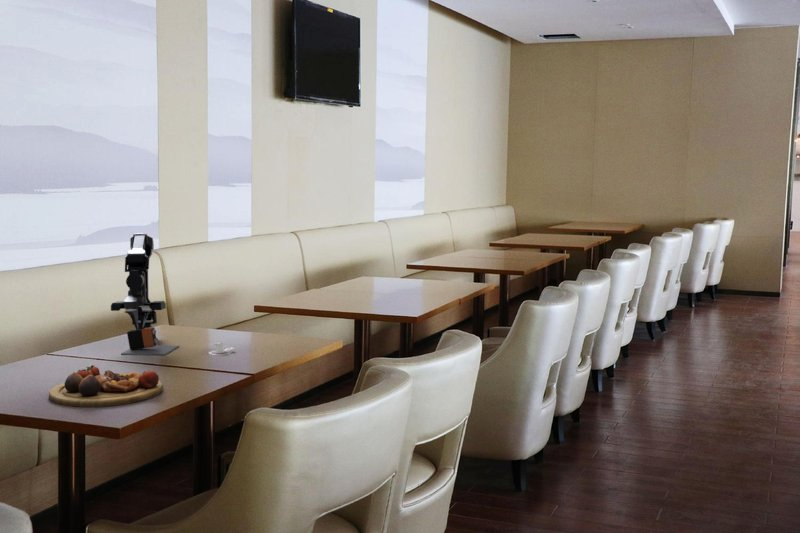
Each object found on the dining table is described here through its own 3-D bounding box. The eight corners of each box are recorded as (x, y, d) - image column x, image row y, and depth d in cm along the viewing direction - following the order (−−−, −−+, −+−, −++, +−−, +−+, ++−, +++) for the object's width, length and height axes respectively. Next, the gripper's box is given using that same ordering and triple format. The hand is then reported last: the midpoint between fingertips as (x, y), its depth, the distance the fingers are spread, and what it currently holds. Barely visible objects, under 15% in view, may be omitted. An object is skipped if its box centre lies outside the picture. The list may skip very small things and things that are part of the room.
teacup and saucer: (235, 352, 328) (235, 341, 327) (229, 356, 320) (229, 345, 319) (212, 351, 329) (212, 340, 328) (205, 356, 321) (205, 344, 320)
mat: (137, 346, 336) (137, 344, 336) (179, 346, 335) (179, 345, 335) (121, 354, 320) (121, 353, 320) (164, 355, 319) (164, 354, 319)
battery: (129, 350, 326) (155, 346, 325) (126, 332, 325) (152, 328, 324) (134, 347, 330) (160, 344, 329) (130, 329, 330) (156, 326, 329)
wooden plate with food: (182, 385, 276) (182, 359, 275) (124, 412, 245) (123, 382, 244) (92, 379, 284) (91, 353, 283) (25, 404, 254) (23, 375, 253)
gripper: (103, 289, 318) (105, 333, 319) (154, 288, 317) (156, 332, 318) (115, 286, 329) (117, 328, 330) (165, 285, 328) (167, 327, 329)
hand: (139, 329), depth 327 cm, fingers closed
